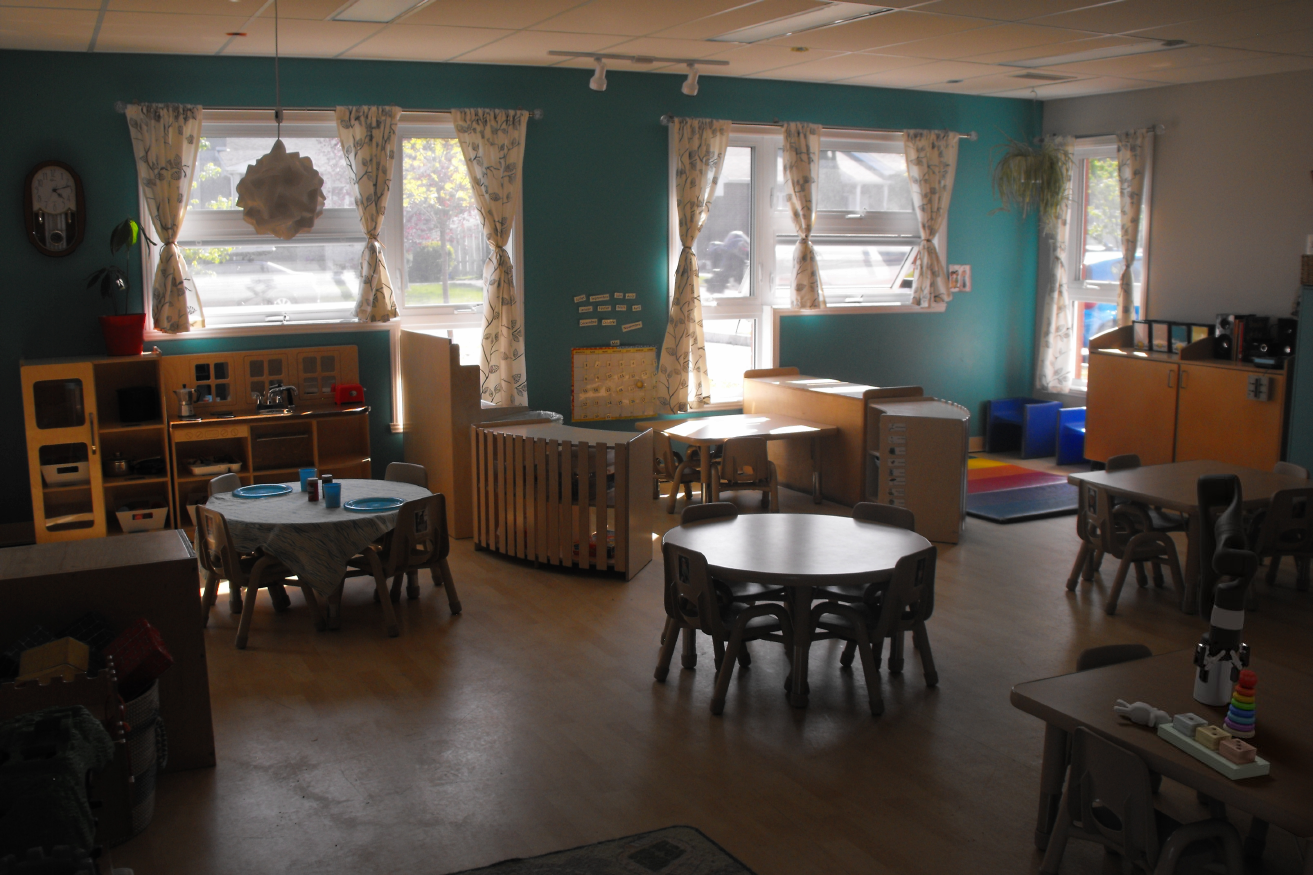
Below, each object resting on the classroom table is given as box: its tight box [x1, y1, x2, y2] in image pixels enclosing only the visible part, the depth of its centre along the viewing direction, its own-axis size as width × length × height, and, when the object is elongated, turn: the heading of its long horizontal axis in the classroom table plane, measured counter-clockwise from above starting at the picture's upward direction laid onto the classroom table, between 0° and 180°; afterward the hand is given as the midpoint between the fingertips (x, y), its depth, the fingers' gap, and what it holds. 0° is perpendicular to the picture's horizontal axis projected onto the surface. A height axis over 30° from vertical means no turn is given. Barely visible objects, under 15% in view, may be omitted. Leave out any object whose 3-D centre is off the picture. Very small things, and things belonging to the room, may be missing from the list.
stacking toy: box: [1222, 669, 1259, 739], centre depth 301 cm, size 8×8×19 cm
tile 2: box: [1195, 725, 1233, 751], centre depth 289 cm, size 6×6×4 cm
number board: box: [1156, 722, 1271, 781], centre depth 289 cm, size 12×26×3 cm, turn 18°
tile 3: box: [1218, 738, 1258, 765], centre depth 281 cm, size 6×6×4 cm
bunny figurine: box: [1112, 699, 1173, 729], centre depth 308 cm, size 10×5×15 cm
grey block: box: [1172, 712, 1209, 738], centre depth 296 cm, size 6×6×4 cm
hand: (1218, 681), depth 282 cm, fingers open, 8 cm apart
